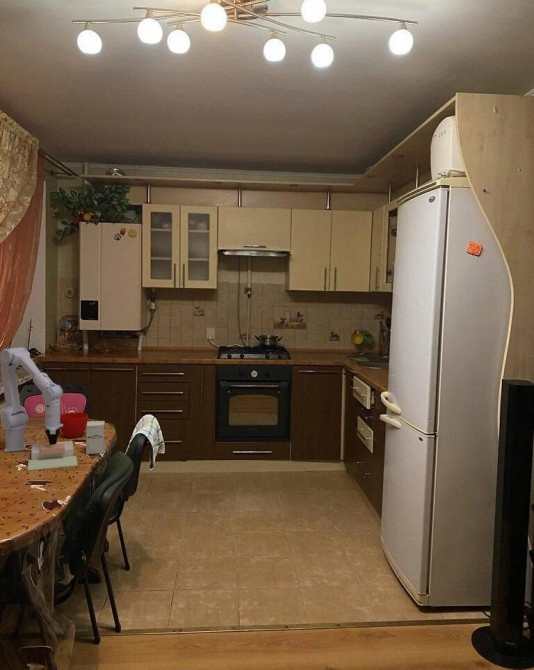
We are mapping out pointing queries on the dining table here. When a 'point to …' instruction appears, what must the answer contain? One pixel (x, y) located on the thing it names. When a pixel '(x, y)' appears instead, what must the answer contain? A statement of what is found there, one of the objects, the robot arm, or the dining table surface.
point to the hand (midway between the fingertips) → (52, 446)
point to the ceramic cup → (73, 423)
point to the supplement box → (95, 437)
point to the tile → (52, 448)
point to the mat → (52, 463)
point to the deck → (68, 452)
